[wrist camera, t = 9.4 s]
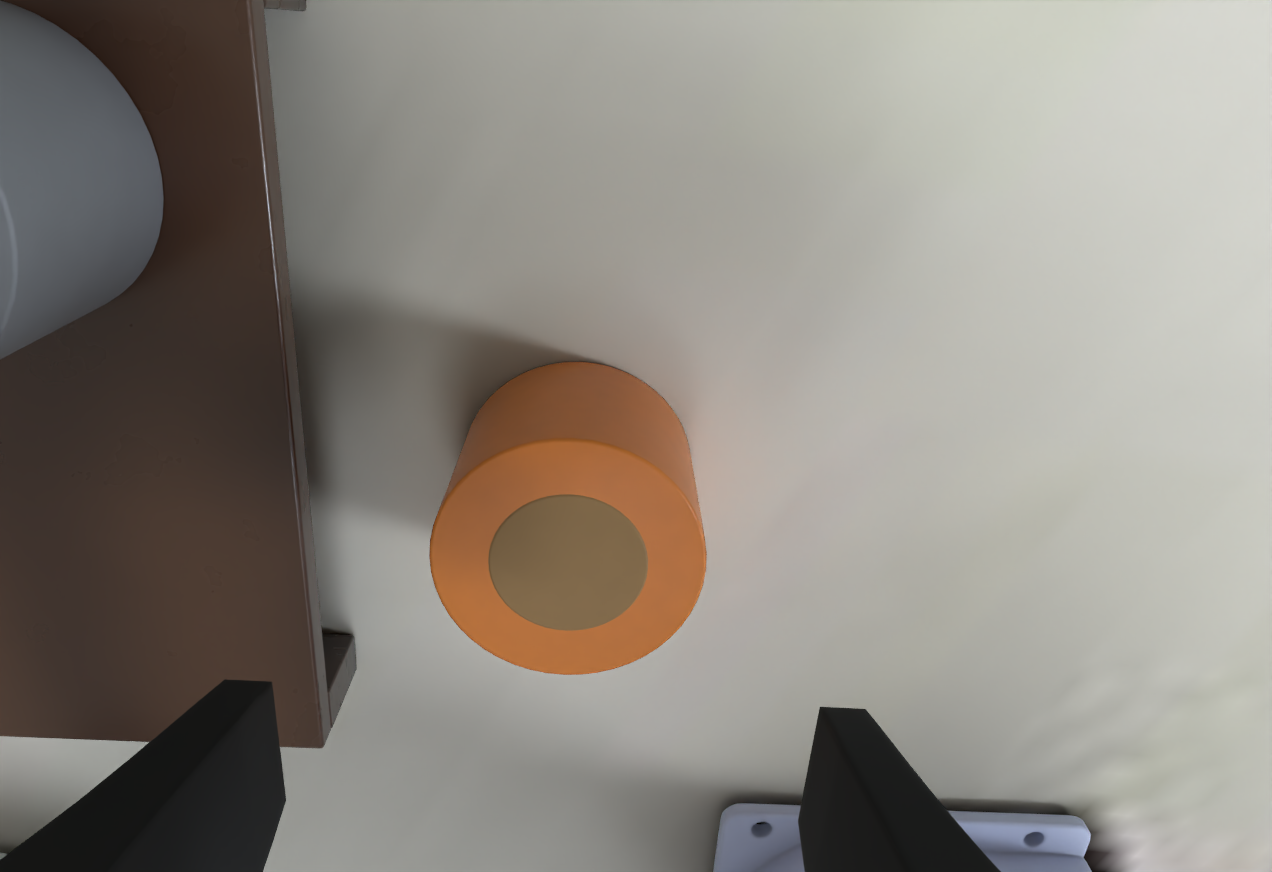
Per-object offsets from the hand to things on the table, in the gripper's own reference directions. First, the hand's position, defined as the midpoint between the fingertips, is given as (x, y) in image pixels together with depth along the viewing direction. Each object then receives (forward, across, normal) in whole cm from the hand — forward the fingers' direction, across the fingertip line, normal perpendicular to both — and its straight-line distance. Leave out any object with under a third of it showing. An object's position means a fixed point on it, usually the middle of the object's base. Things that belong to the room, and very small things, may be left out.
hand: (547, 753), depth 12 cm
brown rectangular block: (+8, +9, -2) cm, 12 cm away
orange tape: (+8, 0, 0) cm, 8 cm away
